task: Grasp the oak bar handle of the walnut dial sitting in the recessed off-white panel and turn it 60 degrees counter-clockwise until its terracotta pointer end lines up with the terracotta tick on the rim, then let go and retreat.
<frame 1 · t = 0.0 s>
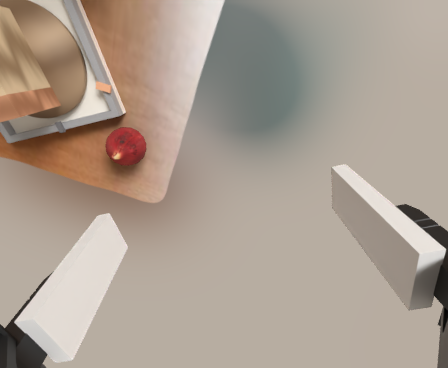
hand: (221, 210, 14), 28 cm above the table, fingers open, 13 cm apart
panel: (39, 63, 35), on the table
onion: (134, 139, 41), on the table
dial: (6, 63, 30), point 6 cm above the table, hinge at 0.0°
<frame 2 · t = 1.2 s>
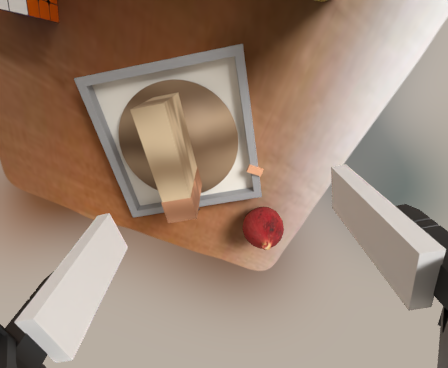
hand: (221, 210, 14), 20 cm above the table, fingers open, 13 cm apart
panel: (181, 138, 33), on the table
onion: (259, 212, 39), on the table
dial: (174, 153, 27), point 6 cm above the table, hinge at 0.0°
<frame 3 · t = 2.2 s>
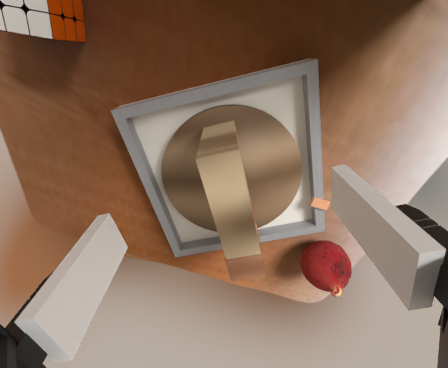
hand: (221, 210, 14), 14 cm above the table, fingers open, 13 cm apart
panel: (231, 168, 28), on the table
rubik's cube: (55, 5, 21), on the table
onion: (314, 243, 34), on the table
dial: (233, 195, 23), point 6 cm above the table, hinge at 0.0°
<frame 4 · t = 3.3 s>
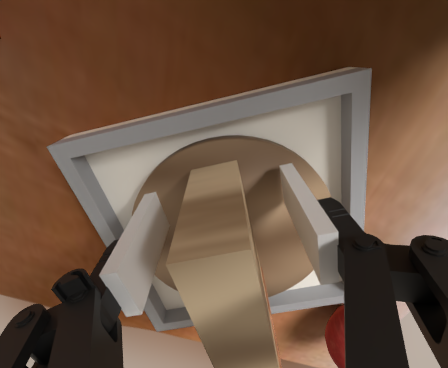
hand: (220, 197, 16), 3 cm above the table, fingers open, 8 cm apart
panel: (231, 217, 20), on the table
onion: (340, 304, 26), on the table
dial: (235, 275, 15), point 6 cm above the table, hinge at 0.0°
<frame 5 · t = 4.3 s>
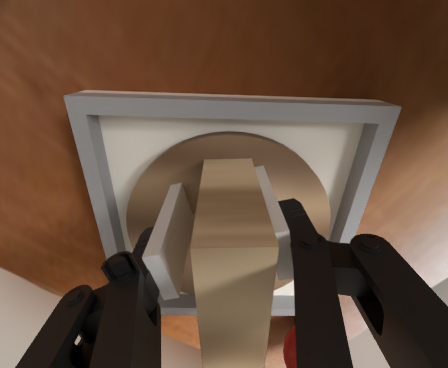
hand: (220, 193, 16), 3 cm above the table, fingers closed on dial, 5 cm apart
panel: (227, 214, 20), on the table
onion: (302, 317, 27), on the table
dial: (230, 271, 15), point 6 cm above the table, hinge at 2.8°, touching gripper
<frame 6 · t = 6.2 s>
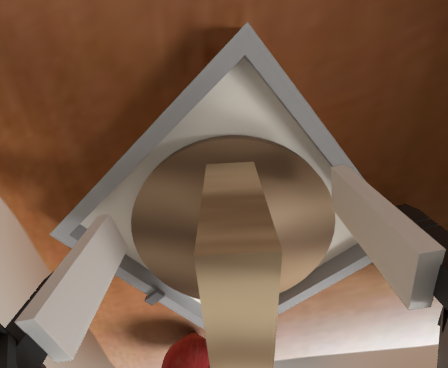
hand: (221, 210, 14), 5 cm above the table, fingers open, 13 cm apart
panel: (231, 217, 20), on the table
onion: (194, 331, 28), on the table
dial: (235, 275, 15), point 6 cm above the table, hinge at 49.9°
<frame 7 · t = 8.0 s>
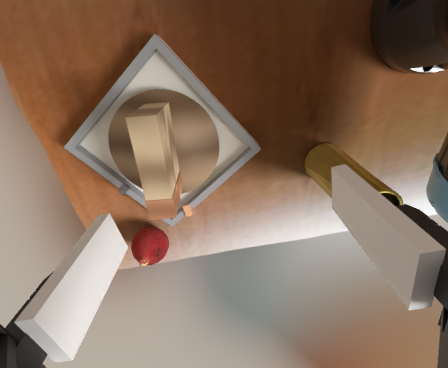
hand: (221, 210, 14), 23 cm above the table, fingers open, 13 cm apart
vase: (322, 160, 38), on the table
panel: (167, 142, 35), on the table
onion: (155, 230, 43), on the table
dial: (160, 157, 30), point 6 cm above the table, hinge at 49.9°
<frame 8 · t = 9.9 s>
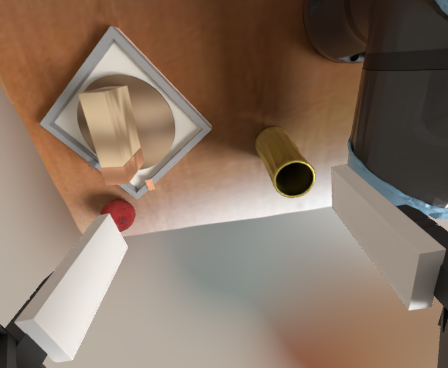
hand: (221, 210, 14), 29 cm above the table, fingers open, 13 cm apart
vase: (272, 143, 42), on the table
panel: (131, 123, 40), on the table
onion: (125, 204, 48), on the table
dial: (118, 132, 35), point 6 cm above the table, hinge at 49.9°
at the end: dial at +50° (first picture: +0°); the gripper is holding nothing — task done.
